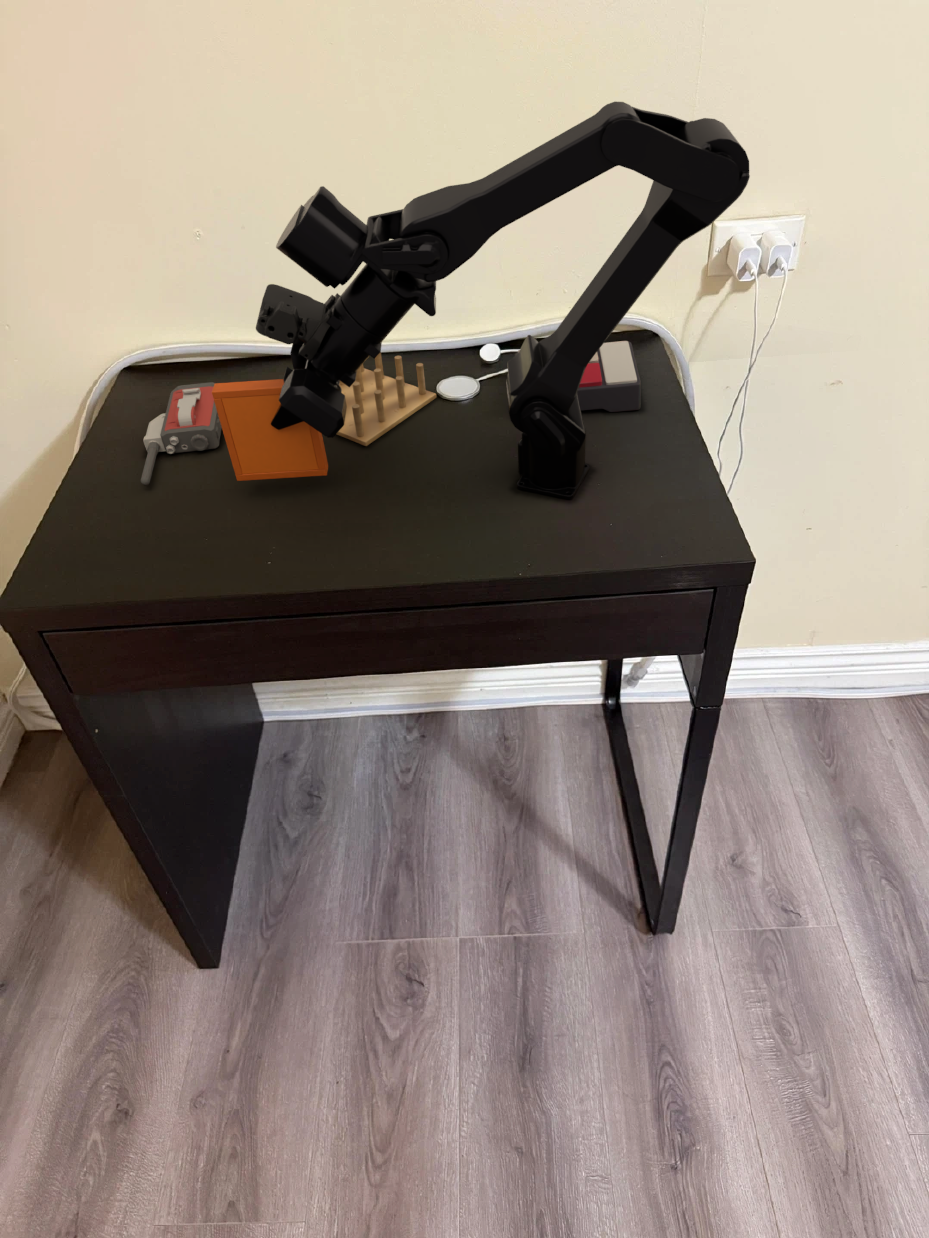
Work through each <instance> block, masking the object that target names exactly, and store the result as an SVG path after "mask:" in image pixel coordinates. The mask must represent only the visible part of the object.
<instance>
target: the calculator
mask: <svg viewBox="0 0 929 1238" xmlns="http://www.w3.org/2000/svg"><path fill="white" fill-rule="evenodd" d="M519 351H520V349H518V350H517V352H515V353H514V357H515V356H516V355H517V354H518V352H519ZM635 356H636V355H635V352H634V347H633V344H632V342H631V341H628V340H621V341H610V342H609V341H608V342H604V343H603V345H602V346H601V347H600V348H599V350H598V351H597V352H596V354H595V355H594V356H593V358H592V359H591V360H590V361H589V363H588V364H587V366H586V368H585V371H584V374H583V377H582V380H581V382H580V385H579V388H578V391H577V395H578V400H579V404H580V409H581V411H591V410H604V411H607V412H609V413H619V412H628V411H639V410H640V409H641V406H642V405H641V404H642V381H641V376H640V372H639V368H638V365H637V360H636V357H635Z"/></svg>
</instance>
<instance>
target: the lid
mask: <svg viewBox="0 0 929 1238" xmlns="http://www.w3.org/2000/svg"><path fill="white" fill-rule="evenodd" d="M283 379H284V378H278V379H277V378H276V379H263V380H248V381H247V380H245V381H232V382H217V383H216V382H214V383H215V384H214V387H213V390H212V395H213V398H214V402H215V406H216V409H217V413H218V416H219V420H220V423H221V427H222V429H221V431H222V434H223V436H224V440H225V444H226V447H227V452H228V454H229V457H230V461H231V464H232V468H233V471H234V475H235V478H236V481H237V482H241V481H243V482H244V481H245V482H246V481H259V480H261V481H262V480H274V479H275V480H276V479H290V478H305V477H323V476H328V471H329V462H328V457H327V453H326V447H325V442H324V437H323V434H322V433H320V432H319V431H317V430H316V429H314V428H313V427H311V426H310V425H309V424H307V423H306V422H304V421H303V422H300V423H297V424H295V425H292V426H289V427H286V428H283V429H281V430H278V429H276V428H274V427H273V426H272V425H271V421H272V419H273V417H274V415H275V413H276V412H277V410H278V408H279V406H280V404H281V403H280V402H279V397H280V393H281V390H282V386H283V384H284V381H283Z"/></svg>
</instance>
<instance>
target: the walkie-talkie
mask: <svg viewBox="0 0 929 1238" xmlns="http://www.w3.org/2000/svg"><path fill="white" fill-rule="evenodd" d="M215 383H216V382H213V381H209V382H199V383H192V384H183V385H177V386H176V387H175V388H173V390H171V391H170V394H169V398H168V401H167V407H166V411H165V413H161V414H159V415H158V416H156V417H155V418H153V419H152V420H151V421H149V422H148V426H147V428H146V433H145V436H143V440H142V441H143V444H144V447H145V450H146V453H147V455H146V459H145V462H144V466H143V469H142V473H141V477H140V483H141V484H142V485H144V486H148V485H150V483H151V479H152V476H153V471H154V467H155V463H156V459H157V456H158V454H159V453H162V452H165V453H167V454H169V455H172V454H180V453H189V452H202V451H207V450H214V449H217V448H218V447H219V446H220V443H221V442H220V441H221V435H222V427H221V423H220V420H219V416H218V413H217V409H216V406H215V402H214V398H213V395H212V390H213V387H214V384H215Z"/></svg>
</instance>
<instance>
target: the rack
mask: <svg viewBox="0 0 929 1238" xmlns="http://www.w3.org/2000/svg"><path fill="white" fill-rule="evenodd" d="M374 364H375V369H373V370H370V369H368V368H366V367H364V363H363V364H362V365H361V367H360V368H359V369H358V370H357V373H356V380H355V382H354V383H353V384H352V385H351V386H350V387H348V386H347V385H345V384H344V383H342V382H341V381H340V383H339V386H340V387H341V389H342V392H341V393H342V394H344V395H345V399H346V404H347V410H346V416H345V423H344V426H343V427H342V428H341V429H340V430H339V431H338V433H337V434H336V435H337V436H338V437H339V436H340V437H342V438H345V439H347V440H349V441H352V442H355V443H357V444H359V445H361V446H364V447H368V446H369V445H370V444H371V443H374V441H376V440H377V439H379V438H380V437H381V436H382V437H383V435H385V434H386V433H387V432H390V430H392V429H394V428H395V427H396V426H398V425H399V424H401V423H402V422H404V421H405V420H406V419H408V418H409V417H411V416H412V415H413V414H415V413H417V412H418V411H420V410H421V409H422V408H424V407H425V406H427V405H428V404H429V403H431V402H433V401H434V400H435V399H437V393H435V392H432V391H430V390H427V389H426V379H425V369H424V363H422V362H418V363H416V364H415V369H416V378H417V379H416V380H417V386H416V385H413V384H409V383H407V382H405V376H404V366H403V359H402V356H401V355H395V356H394V364H395V365H394V367H395V374H396V376H395V378H393V377H391V376H388V375H385V373H384V366H383V358H382V351H381V352H380V353H379V354H378V355H377V357H376V358H375V359H374Z"/></svg>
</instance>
